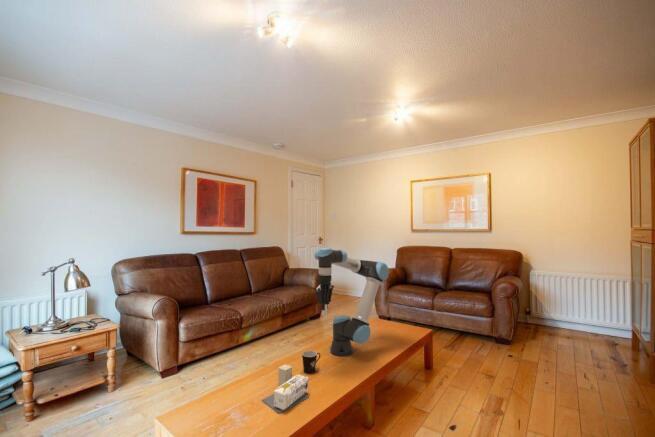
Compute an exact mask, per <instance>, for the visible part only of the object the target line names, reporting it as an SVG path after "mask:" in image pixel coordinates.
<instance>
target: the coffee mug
mask: <svg viewBox="0 0 655 437" xmlns="http://www.w3.org/2000/svg"><path fill="white" fill-rule="evenodd" d="M301 355H302V356H301V357H302V367H303V373H304V374H307V375H312V374H314V373H315V372H316V365H317V363H318V362H319V361H320V358H321V353H319V352H317V351H315V350H305V351H303V352H302V353H301ZM317 355H319V356H318V357H317Z"/></svg>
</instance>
